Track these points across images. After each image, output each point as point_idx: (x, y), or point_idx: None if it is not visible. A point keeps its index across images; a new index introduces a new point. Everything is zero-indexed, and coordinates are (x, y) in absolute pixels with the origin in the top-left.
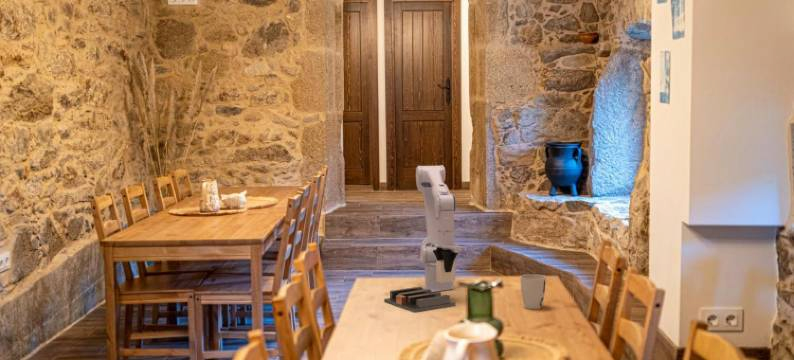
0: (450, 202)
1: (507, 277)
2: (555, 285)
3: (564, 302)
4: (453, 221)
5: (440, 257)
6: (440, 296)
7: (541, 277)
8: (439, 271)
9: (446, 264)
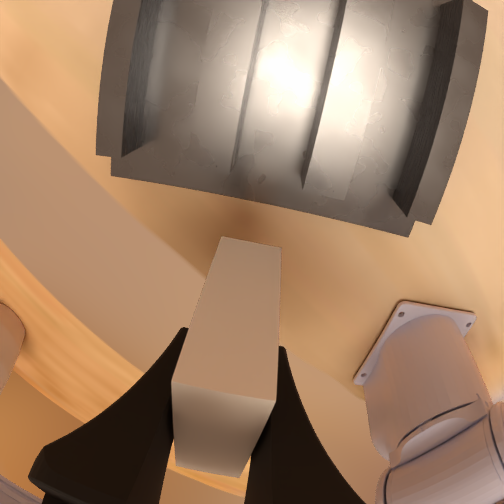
0: None
1: None
2: (178, 471)
3: (36, 385)
4: None
5: (263, 463)
6: (112, 94)
7: None
8: (219, 296)
9: (143, 379)
